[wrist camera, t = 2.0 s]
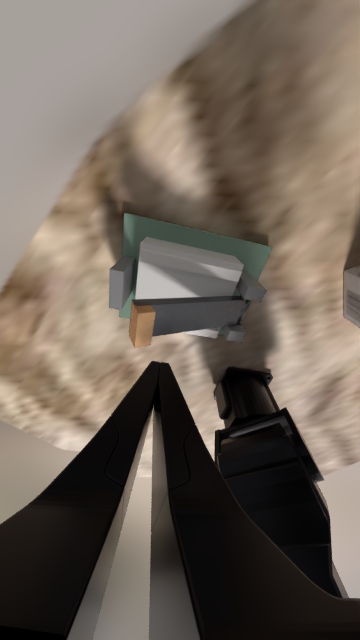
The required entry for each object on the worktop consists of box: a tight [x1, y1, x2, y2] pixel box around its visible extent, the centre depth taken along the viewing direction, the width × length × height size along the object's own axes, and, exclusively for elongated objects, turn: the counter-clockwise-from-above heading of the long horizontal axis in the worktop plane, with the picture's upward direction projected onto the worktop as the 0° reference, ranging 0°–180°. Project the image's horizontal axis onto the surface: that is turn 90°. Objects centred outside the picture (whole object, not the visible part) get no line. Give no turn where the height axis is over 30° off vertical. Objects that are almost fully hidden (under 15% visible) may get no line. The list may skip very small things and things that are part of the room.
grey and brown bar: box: [129, 295, 252, 348], centre depth 14 cm, size 10×2×2 cm, turn 78°
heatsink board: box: [109, 213, 272, 343], centre depth 17 cm, size 13×10×5 cm
